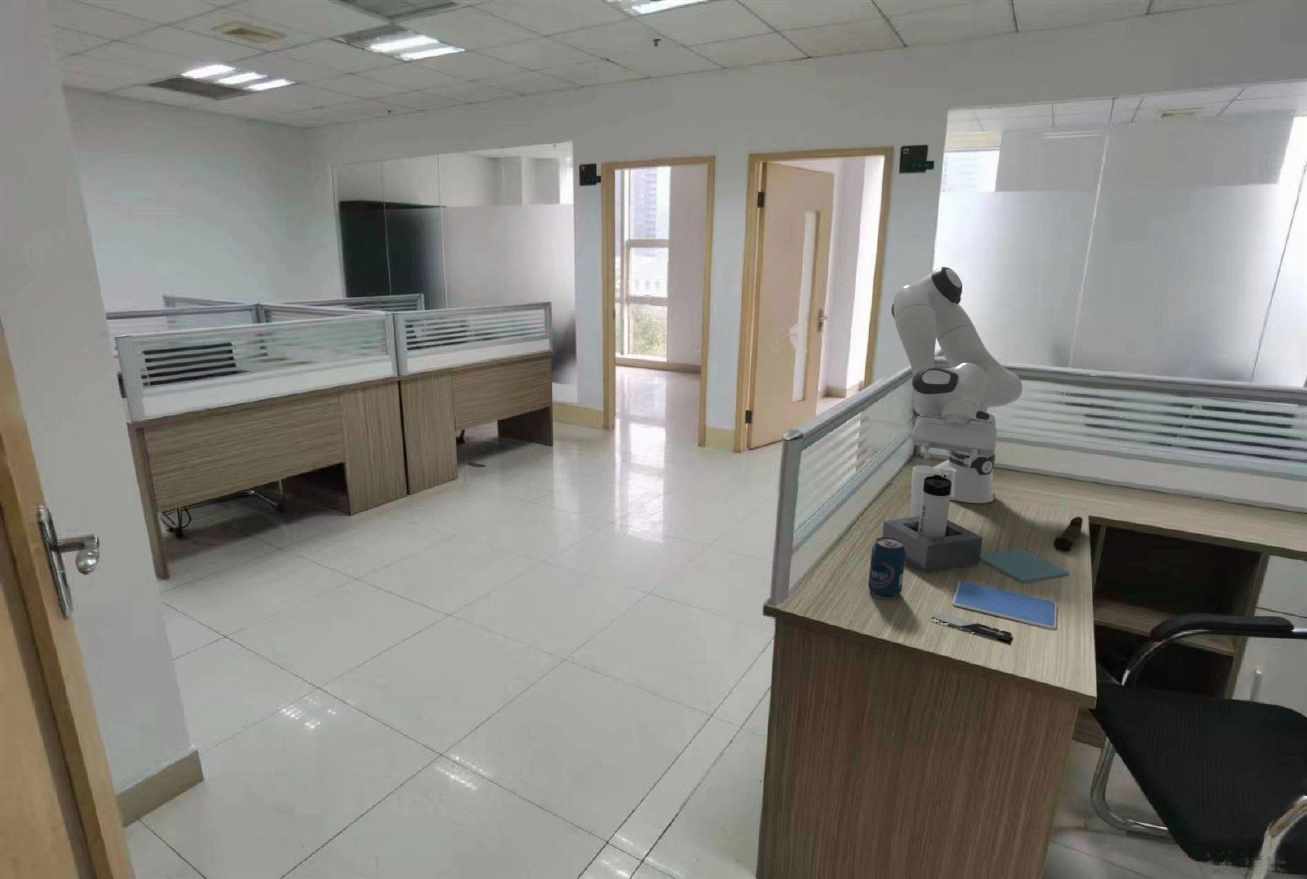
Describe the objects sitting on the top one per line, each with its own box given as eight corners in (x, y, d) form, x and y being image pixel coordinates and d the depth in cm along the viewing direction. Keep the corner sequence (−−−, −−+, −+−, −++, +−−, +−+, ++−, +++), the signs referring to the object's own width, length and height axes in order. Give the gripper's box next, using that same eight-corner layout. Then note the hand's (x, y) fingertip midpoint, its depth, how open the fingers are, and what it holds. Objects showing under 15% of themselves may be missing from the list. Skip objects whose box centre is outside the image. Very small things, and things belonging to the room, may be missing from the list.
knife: (930, 618, 138) (935, 610, 141) (929, 622, 138) (934, 614, 141) (1010, 642, 130) (1014, 633, 133) (1010, 647, 130) (1013, 638, 133)
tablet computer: (1056, 606, 146) (1057, 600, 145) (1055, 633, 135) (1056, 627, 135) (958, 584, 155) (959, 579, 155) (951, 608, 144) (951, 602, 144)
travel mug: (941, 551, 171) (951, 476, 166) (943, 562, 165) (953, 484, 160) (914, 548, 173) (923, 473, 168) (915, 558, 167) (924, 481, 162)
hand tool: (1070, 554, 171) (1073, 537, 169) (1052, 549, 173) (1055, 532, 172) (1089, 534, 184) (1092, 517, 183) (1072, 529, 186) (1075, 513, 185)
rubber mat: (976, 558, 167) (976, 555, 167) (1020, 550, 172) (1020, 548, 172) (1022, 583, 155) (1023, 580, 155) (1069, 574, 159) (1069, 572, 159)
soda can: (862, 593, 149) (867, 542, 146) (875, 582, 154) (880, 533, 151) (893, 603, 145) (899, 551, 142) (905, 591, 150) (911, 541, 147)
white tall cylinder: (933, 518, 193) (939, 467, 189) (932, 526, 187) (938, 474, 183) (908, 514, 196) (914, 464, 192) (906, 522, 190) (911, 470, 186)
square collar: (881, 546, 174) (883, 521, 172) (932, 538, 179) (935, 513, 177) (924, 573, 159) (927, 545, 157) (978, 564, 164) (982, 537, 162)
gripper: (916, 406, 181) (902, 449, 176) (1001, 416, 170) (989, 463, 165) (919, 419, 186) (905, 462, 181) (1001, 430, 175) (990, 476, 170)
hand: (946, 462), depth 173 cm, fingers open, 8 cm apart
